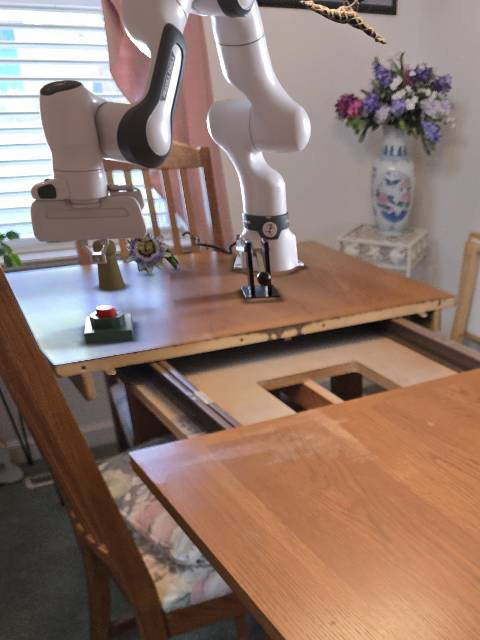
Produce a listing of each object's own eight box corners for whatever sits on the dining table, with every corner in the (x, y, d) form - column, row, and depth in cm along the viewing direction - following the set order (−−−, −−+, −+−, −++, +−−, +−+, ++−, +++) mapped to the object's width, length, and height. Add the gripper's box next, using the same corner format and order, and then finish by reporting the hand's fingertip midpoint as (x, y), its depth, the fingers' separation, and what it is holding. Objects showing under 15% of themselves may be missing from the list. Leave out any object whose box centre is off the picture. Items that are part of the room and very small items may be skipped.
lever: (272, 289, 161) (272, 278, 159) (258, 289, 161) (258, 278, 158) (262, 249, 167) (262, 238, 164) (248, 249, 166) (248, 238, 163)
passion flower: (153, 295, 186) (119, 260, 177) (149, 276, 193) (115, 241, 184) (187, 269, 184) (153, 232, 175) (181, 251, 191) (149, 215, 182)
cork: (129, 284, 175) (120, 237, 168) (119, 291, 170) (109, 243, 163) (105, 283, 175) (96, 236, 169) (94, 290, 170) (84, 241, 164)
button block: (88, 326, 149) (84, 307, 147) (133, 323, 152) (129, 304, 149) (86, 344, 141) (81, 324, 138) (133, 341, 143) (130, 321, 141)
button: (97, 313, 145) (95, 305, 144) (116, 312, 146) (114, 304, 145) (97, 319, 142) (95, 310, 141) (116, 318, 143) (114, 309, 142)
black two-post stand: (280, 300, 168) (276, 244, 161) (246, 302, 166) (241, 245, 159) (273, 289, 176) (270, 234, 168) (241, 291, 173) (236, 236, 166)
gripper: (140, 181, 136) (153, 256, 144) (24, 183, 130) (44, 261, 138) (141, 187, 131) (154, 264, 139) (20, 189, 125) (41, 270, 134)
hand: (98, 263), depth 139 cm, fingers closed
